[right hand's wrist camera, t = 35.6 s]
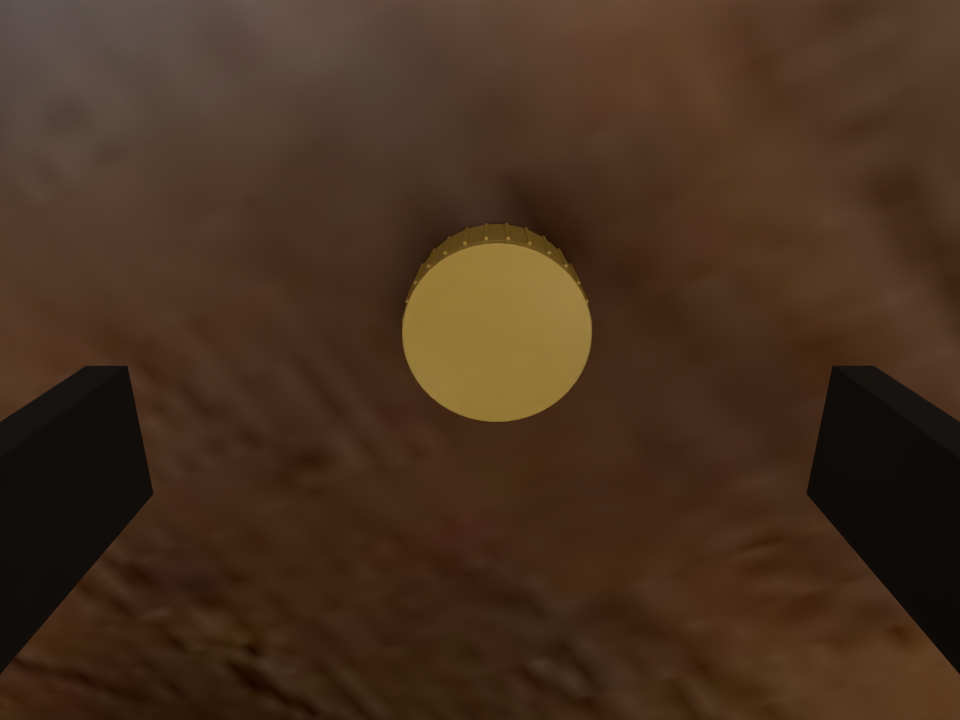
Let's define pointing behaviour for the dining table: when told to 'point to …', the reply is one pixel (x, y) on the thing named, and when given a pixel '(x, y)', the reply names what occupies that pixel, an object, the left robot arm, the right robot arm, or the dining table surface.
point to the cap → (496, 324)
